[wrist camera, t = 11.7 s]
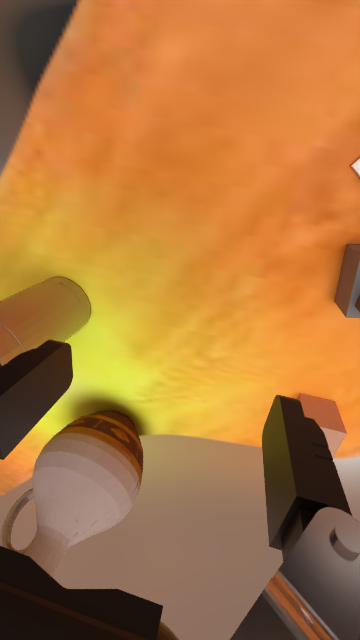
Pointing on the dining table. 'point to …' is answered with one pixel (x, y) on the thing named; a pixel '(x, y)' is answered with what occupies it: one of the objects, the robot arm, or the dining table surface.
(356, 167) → the tile
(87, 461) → the jug
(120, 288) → the dining table surface
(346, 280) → the charcoal block
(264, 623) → the robot arm
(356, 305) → the walnut block
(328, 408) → the terracotta block
